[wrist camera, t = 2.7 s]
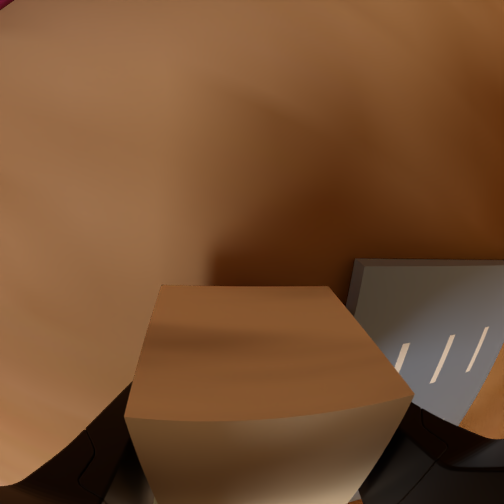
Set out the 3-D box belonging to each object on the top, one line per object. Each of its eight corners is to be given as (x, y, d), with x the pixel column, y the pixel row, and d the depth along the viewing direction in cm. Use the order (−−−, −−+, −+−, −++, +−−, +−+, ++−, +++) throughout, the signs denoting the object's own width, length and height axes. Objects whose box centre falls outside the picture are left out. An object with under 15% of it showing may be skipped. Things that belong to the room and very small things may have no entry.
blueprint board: (414, 472, 19) (417, 478, 18) (284, 507, 17) (286, 515, 16) (521, 259, 12) (530, 264, 12) (354, 258, 11) (364, 266, 10)
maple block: (303, 401, 11) (344, 507, 6) (173, 405, 10) (167, 523, 5) (327, 286, 9) (414, 394, 5) (161, 285, 9) (124, 416, 4)
